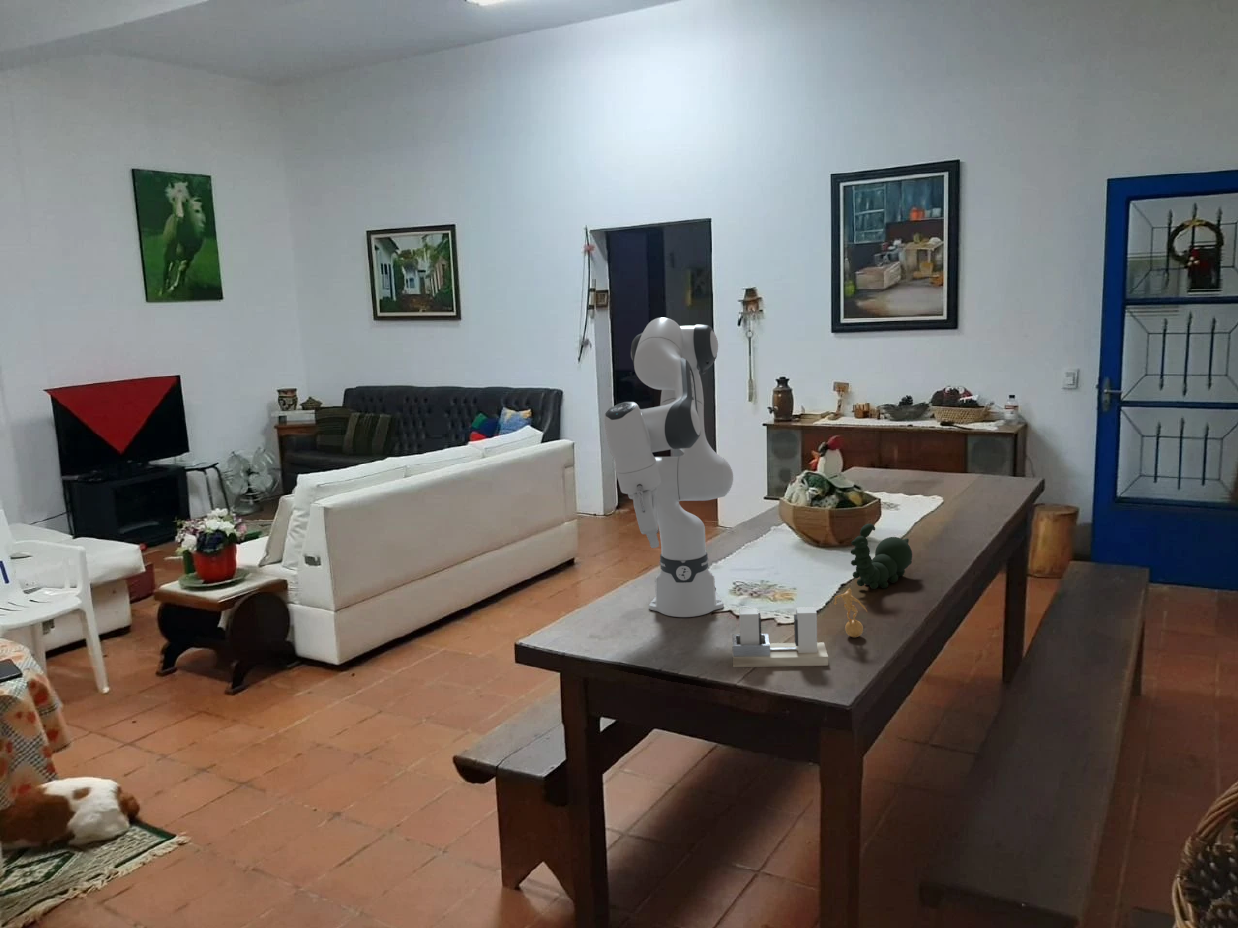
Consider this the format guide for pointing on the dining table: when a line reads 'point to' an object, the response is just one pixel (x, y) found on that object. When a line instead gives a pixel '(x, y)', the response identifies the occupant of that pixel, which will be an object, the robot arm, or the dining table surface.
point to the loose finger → (750, 626)
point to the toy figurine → (880, 559)
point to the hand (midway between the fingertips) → (655, 539)
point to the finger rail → (785, 646)
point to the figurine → (852, 626)
